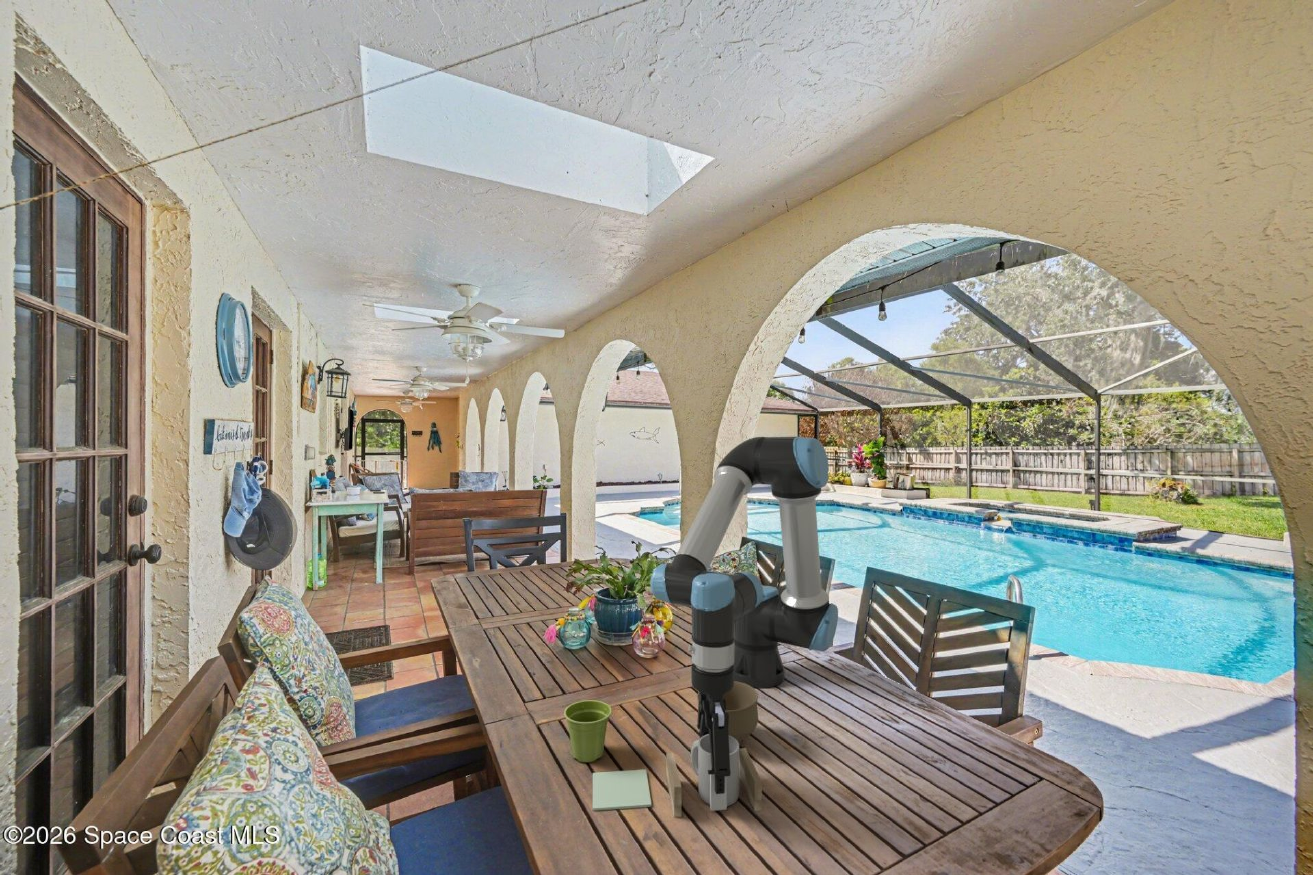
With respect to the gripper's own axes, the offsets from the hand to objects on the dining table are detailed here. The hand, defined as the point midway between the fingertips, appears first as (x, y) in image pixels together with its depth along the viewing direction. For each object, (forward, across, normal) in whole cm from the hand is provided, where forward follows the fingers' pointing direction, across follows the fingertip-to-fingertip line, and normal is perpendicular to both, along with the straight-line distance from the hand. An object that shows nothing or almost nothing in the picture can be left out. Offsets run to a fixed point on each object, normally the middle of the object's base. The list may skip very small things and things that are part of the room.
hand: (712, 791), depth 98 cm
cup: (0, 0, 0) cm, 1 cm away
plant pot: (+1, -15, -22) cm, 27 cm away
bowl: (+1, -17, +7) cm, 18 cm away
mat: (0, -3, -16) cm, 16 cm away
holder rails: (+1, 0, 0) cm, 1 cm away
